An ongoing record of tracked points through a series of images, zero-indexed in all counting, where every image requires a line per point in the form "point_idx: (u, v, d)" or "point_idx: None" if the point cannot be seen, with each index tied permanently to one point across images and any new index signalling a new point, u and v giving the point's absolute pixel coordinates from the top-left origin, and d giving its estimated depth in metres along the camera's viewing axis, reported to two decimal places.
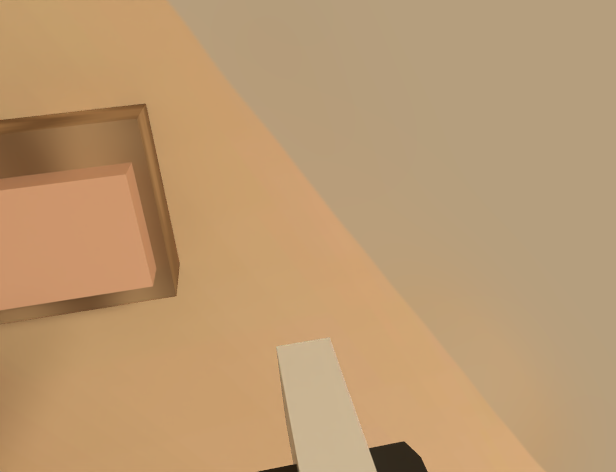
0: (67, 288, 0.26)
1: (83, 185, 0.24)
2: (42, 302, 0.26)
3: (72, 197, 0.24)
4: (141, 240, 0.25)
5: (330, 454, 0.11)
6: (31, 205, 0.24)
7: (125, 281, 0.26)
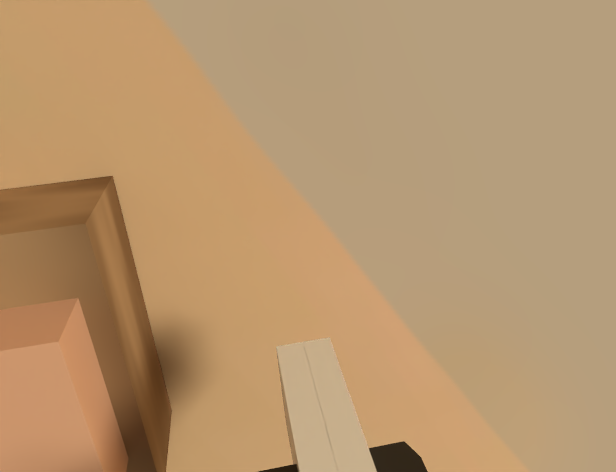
0: None
1: None
2: None
3: None
4: (94, 446, 0.14)
5: (330, 454, 0.11)
6: None
7: None
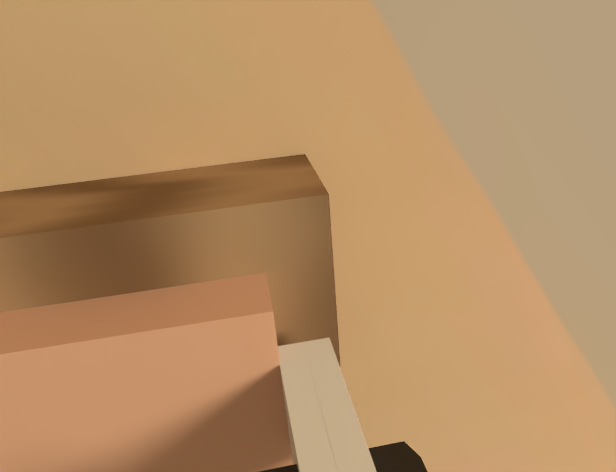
0: None
1: (194, 333, 0.13)
2: None
3: (172, 353, 0.13)
4: (285, 415, 0.14)
5: (330, 454, 0.11)
6: (96, 370, 0.13)
7: None
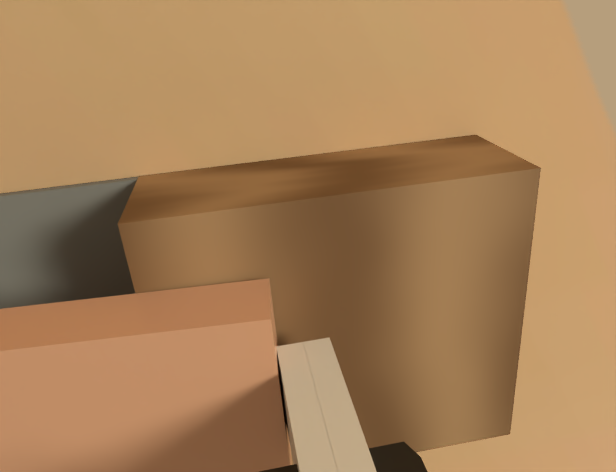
0: None
1: (190, 338, 0.12)
2: None
3: (169, 357, 0.13)
4: (283, 425, 0.14)
5: (330, 454, 0.11)
6: (93, 371, 0.13)
7: None
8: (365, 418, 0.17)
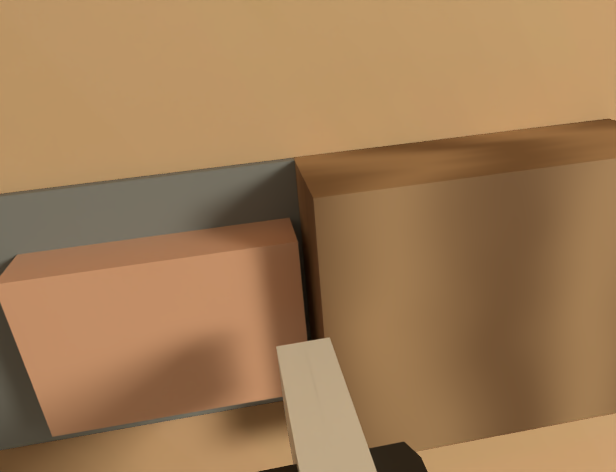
0: (196, 397, 0.18)
1: (236, 258, 0.16)
2: (160, 416, 0.18)
3: (218, 274, 0.16)
4: (305, 331, 0.18)
5: (330, 454, 0.11)
6: (159, 287, 0.16)
7: (276, 386, 0.18)
8: (507, 392, 0.18)
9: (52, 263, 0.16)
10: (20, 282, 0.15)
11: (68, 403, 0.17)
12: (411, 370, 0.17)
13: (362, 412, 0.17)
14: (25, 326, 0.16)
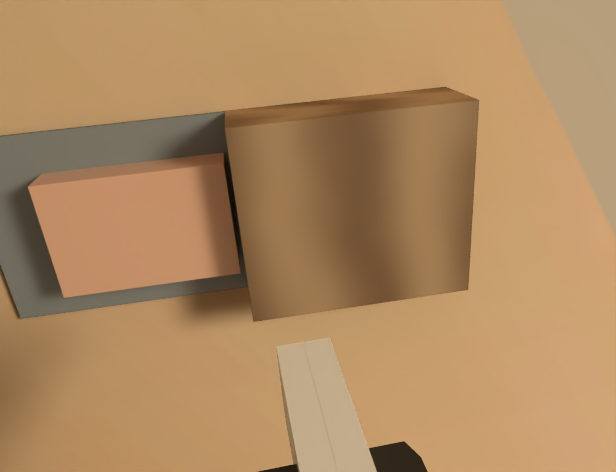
0: (160, 273, 0.27)
1: (183, 173, 0.25)
2: (136, 286, 0.27)
3: (172, 184, 0.25)
4: (233, 228, 0.26)
5: (330, 454, 0.11)
6: (133, 192, 0.25)
7: (215, 267, 0.27)
8: (370, 271, 0.26)
9: (64, 176, 0.25)
10: (44, 186, 0.24)
11: (74, 273, 0.26)
12: (300, 251, 0.25)
13: (269, 280, 0.26)
14: (47, 216, 0.25)
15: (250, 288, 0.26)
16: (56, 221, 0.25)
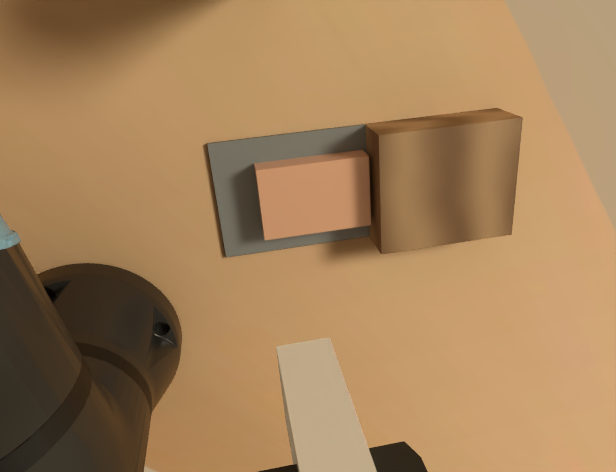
0: (323, 224, 0.43)
1: (345, 162, 0.41)
2: (308, 233, 0.43)
3: (337, 169, 0.41)
4: (369, 196, 0.43)
5: (330, 454, 0.11)
6: (315, 173, 0.41)
7: (356, 221, 0.43)
8: (453, 221, 0.43)
9: (272, 164, 0.41)
10: (265, 170, 0.40)
11: (273, 224, 0.42)
12: (413, 209, 0.42)
13: (393, 227, 0.42)
14: (263, 188, 0.41)
15: (382, 232, 0.42)
16: (268, 191, 0.41)
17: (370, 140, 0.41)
